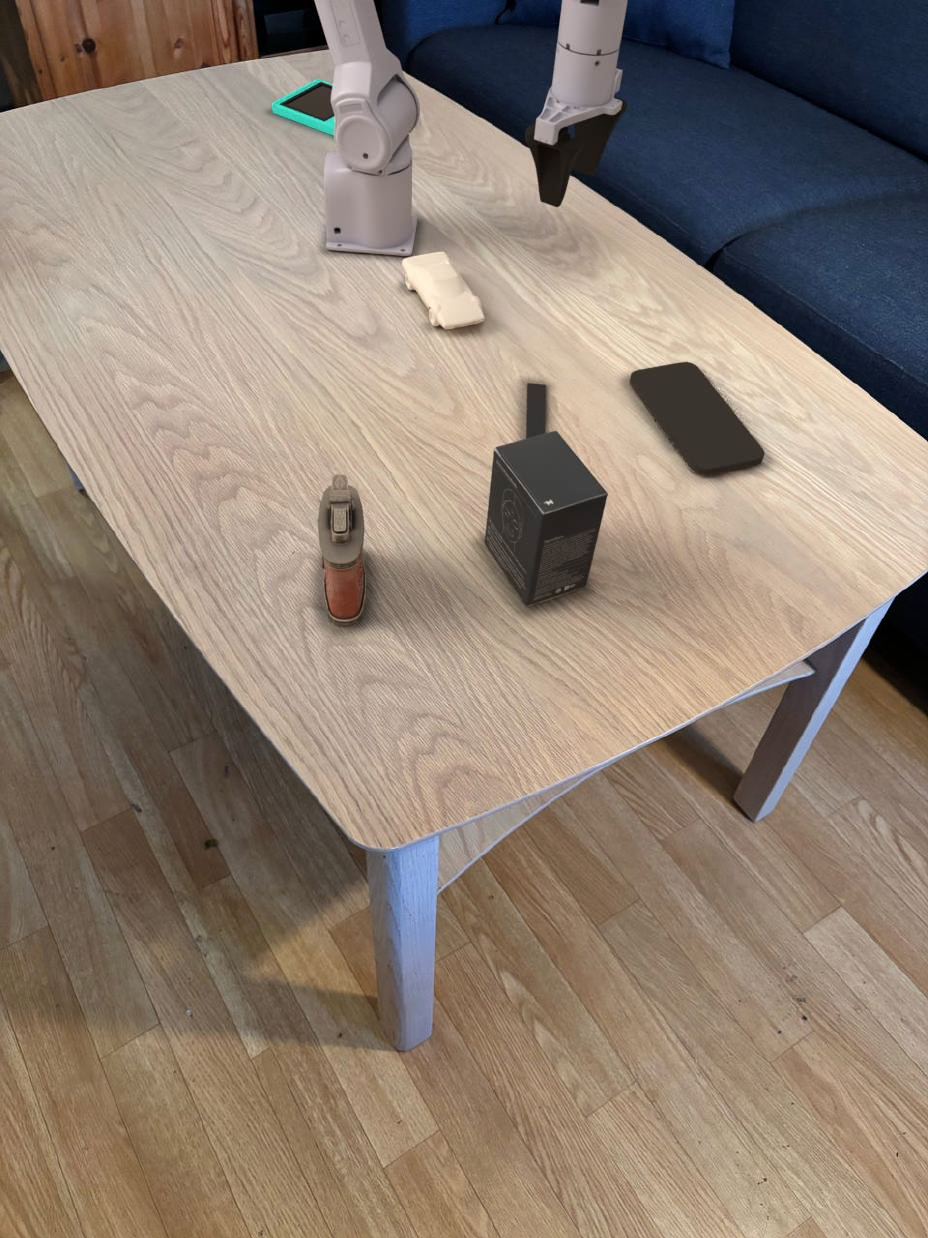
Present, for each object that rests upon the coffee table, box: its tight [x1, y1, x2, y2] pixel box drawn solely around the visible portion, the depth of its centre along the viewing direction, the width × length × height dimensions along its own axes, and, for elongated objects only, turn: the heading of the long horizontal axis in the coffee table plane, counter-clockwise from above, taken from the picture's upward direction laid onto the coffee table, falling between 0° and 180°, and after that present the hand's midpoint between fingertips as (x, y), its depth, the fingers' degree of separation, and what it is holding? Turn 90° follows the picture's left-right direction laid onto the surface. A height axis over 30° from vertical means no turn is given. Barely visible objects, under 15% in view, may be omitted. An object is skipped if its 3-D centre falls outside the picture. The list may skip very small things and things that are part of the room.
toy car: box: [401, 251, 485, 330], centre depth 100 cm, size 6×12×3 cm, turn 23°
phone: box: [629, 361, 766, 476], centre depth 91 cm, size 7×1×15 cm
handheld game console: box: [271, 78, 335, 137], centre depth 126 cm, size 10×16×1 cm, turn 57°
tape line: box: [525, 382, 547, 439], centre depth 89 cm, size 2×15×1 cm, turn 177°
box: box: [484, 430, 609, 607], centre depth 75 cm, size 8×6×11 cm
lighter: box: [317, 473, 368, 629], centre depth 73 cm, size 8×3×10 cm, turn 5°
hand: (567, 187), depth 98 cm, fingers open, 7 cm apart
